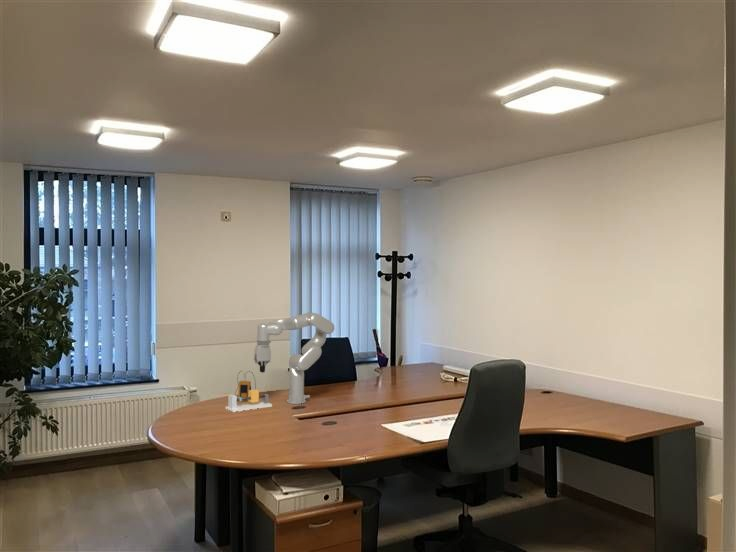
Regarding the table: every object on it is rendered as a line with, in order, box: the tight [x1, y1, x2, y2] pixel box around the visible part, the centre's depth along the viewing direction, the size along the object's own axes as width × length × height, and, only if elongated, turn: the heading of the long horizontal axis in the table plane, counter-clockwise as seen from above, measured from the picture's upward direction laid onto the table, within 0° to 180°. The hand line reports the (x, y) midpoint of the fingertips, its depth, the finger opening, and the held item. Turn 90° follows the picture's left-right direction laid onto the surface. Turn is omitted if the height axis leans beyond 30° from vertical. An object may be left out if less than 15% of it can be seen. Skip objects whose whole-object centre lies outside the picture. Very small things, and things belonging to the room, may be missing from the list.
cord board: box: [225, 393, 273, 413], centre depth 364 cm, size 27×10×9 cm, turn 130°
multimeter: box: [234, 370, 257, 402], centre depth 386 cm, size 15×10×20 cm
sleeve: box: [247, 389, 260, 403], centre depth 366 cm, size 5×4×7 cm
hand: (262, 372), depth 370 cm, fingers closed
